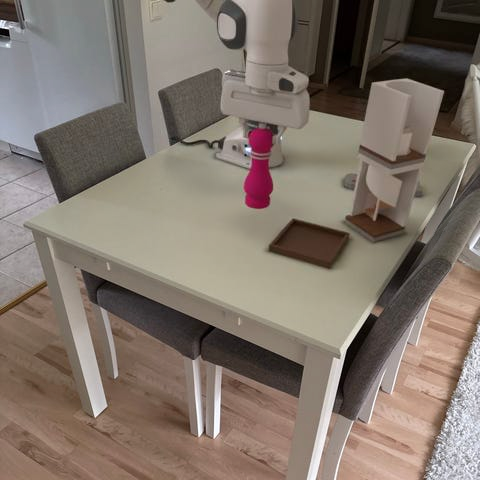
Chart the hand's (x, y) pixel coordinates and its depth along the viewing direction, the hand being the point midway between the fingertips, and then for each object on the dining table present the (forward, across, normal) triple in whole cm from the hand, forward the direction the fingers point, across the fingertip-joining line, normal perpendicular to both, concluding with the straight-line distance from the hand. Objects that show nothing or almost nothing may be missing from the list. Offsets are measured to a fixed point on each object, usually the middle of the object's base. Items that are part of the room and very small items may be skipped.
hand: (261, 140), depth 112 cm
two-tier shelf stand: (+23, +27, +17) cm, 39 cm away
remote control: (+23, +23, +44) cm, 55 cm away
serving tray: (+23, +15, 0) cm, 28 cm away
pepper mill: (+16, 0, 0) cm, 16 cm away
